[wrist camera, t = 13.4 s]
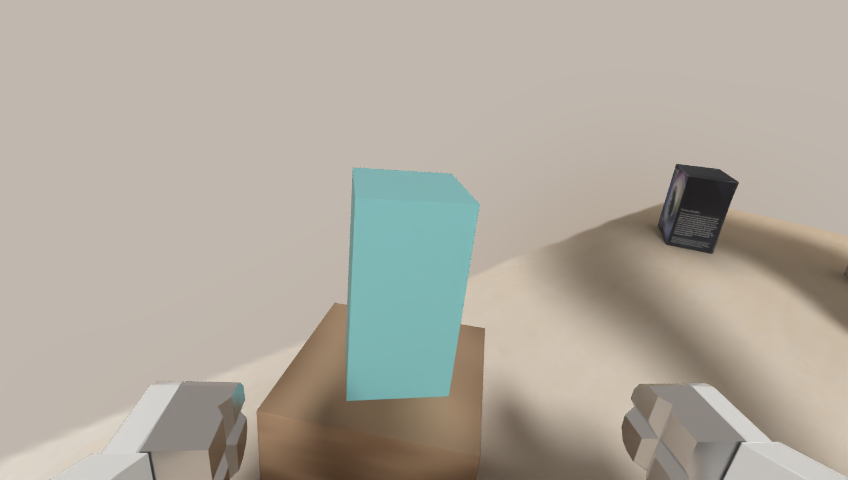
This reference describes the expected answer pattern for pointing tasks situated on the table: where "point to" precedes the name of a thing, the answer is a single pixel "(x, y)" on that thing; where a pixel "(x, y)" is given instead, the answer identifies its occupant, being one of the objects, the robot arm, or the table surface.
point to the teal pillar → (406, 282)
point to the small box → (696, 207)
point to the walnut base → (369, 418)
